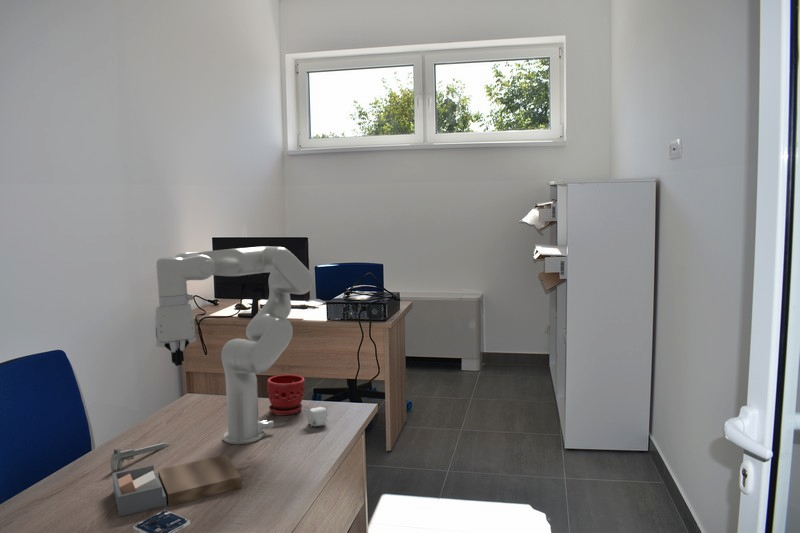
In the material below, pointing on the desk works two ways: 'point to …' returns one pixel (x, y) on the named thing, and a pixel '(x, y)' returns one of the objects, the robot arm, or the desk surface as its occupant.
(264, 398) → the desk surface
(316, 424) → the elephant figurine
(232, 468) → the plate
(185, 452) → the desk surface
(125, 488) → the tile terracotta
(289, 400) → the plant pot
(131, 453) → the caliper
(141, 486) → the tile cream
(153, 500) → the box
